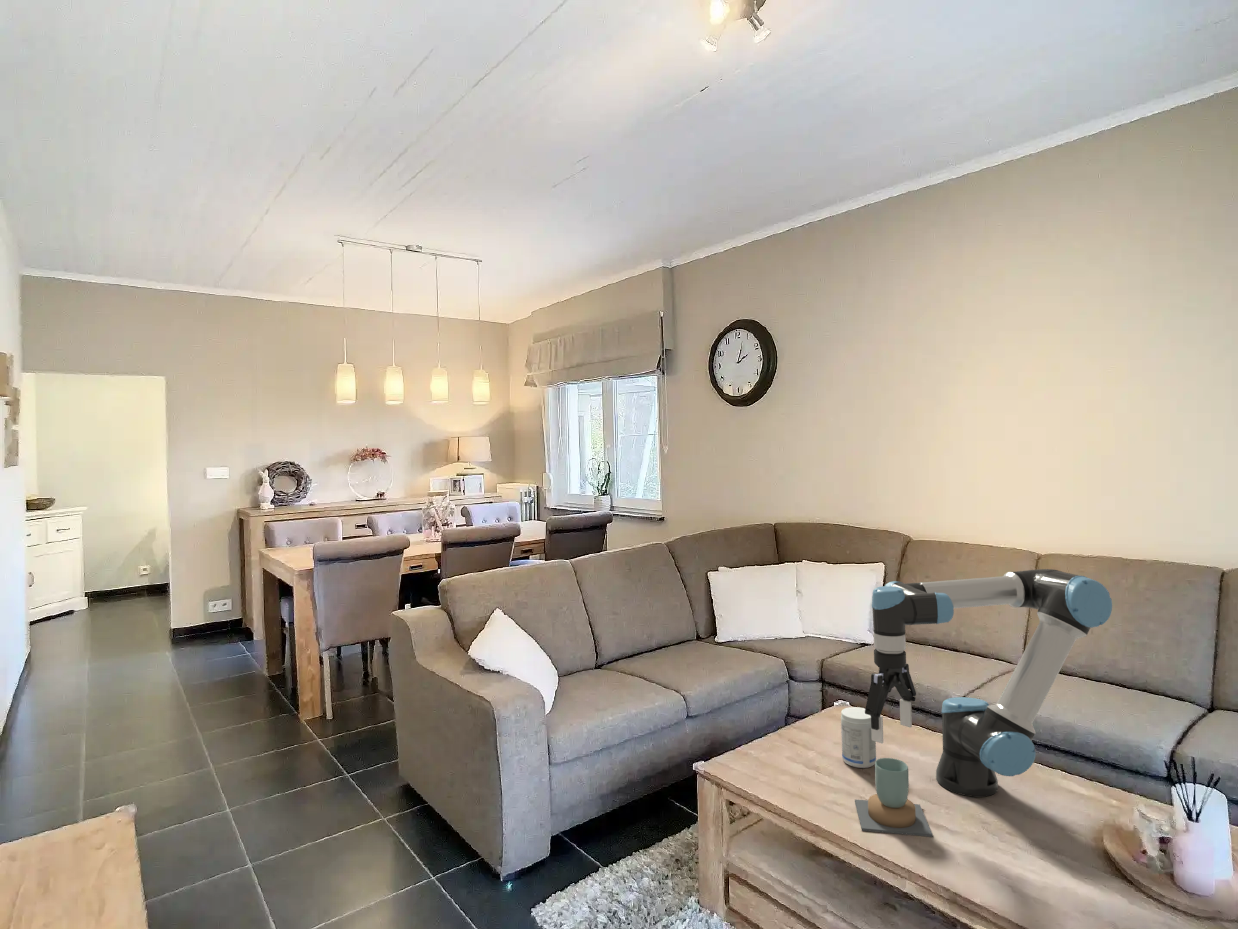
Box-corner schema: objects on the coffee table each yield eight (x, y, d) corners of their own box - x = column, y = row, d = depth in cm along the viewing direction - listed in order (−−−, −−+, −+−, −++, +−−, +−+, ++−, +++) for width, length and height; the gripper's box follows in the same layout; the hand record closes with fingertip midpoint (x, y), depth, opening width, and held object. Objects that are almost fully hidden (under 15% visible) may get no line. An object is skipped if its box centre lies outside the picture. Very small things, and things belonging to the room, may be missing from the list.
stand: (919, 806, 178) (919, 793, 178) (932, 837, 164) (932, 822, 164) (854, 801, 181) (854, 788, 181) (861, 830, 167) (861, 816, 167)
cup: (911, 813, 168) (911, 773, 168) (878, 811, 169) (877, 770, 169) (905, 797, 176) (904, 758, 175) (873, 795, 177) (872, 756, 177)
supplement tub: (864, 753, 209) (863, 705, 209) (883, 767, 200) (882, 716, 200) (835, 757, 207) (834, 708, 207) (852, 771, 198) (852, 720, 198)
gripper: (901, 636, 184) (903, 715, 184) (848, 657, 168) (850, 743, 168) (928, 642, 178) (931, 723, 178) (876, 664, 162) (879, 753, 163)
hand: (892, 733), depth 173 cm, fingers open, 13 cm apart
